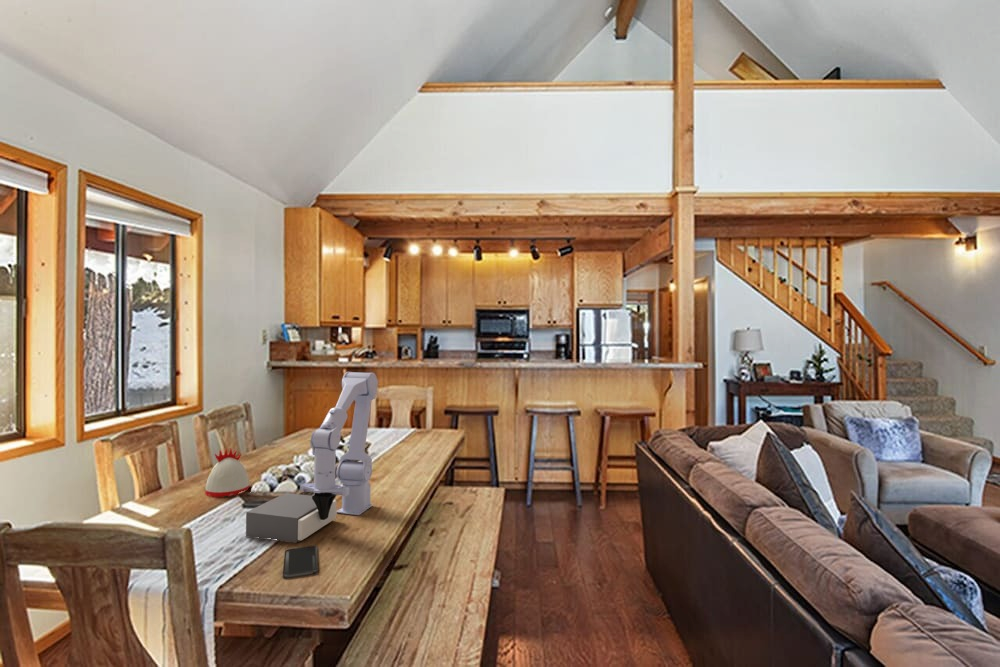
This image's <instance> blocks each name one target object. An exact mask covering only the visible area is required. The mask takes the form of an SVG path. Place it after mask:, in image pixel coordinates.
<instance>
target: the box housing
mask: <svg viewBox="0 0 1000 667" xmlns="http://www.w3.org/2000/svg"><path fill="white" fill-rule="evenodd" d="M312 496H313V495H309V494H298V493H288V492H285V493H283V494H281V495H279V496H277V497H275V498H272V499H271V500H268V501H267V502H264V503H262V504H260V505H258V506H256V507H254V508H252V509H250V510H248V511H246V512H245V514H246V516H245V537H246V536H250V537H249V538H254V537H259V538H258V539H261V538H271V539H277V540H280V541H279V542H284V541H285V543H291V542H293V543H292V544H298V543H299V542H301V540H298V520H299V519H301V518H302V517H304V516H306V515H308V514H309V513H311V512H313V511H314V510H316V509H317V506H316V504H315V502H314V501H313V499H312ZM297 542H298V543H297Z"/></svg>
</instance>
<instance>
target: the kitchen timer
mask: <svg viewBox="0 0 1000 667" xmlns="http://www.w3.org/2000/svg"><path fill="white" fill-rule="evenodd" d="M236 455H237V450H235V451H234V452H233V451H232V447H231V448H230V449H229V453H228V450H227V448H225V450H224V454H223V453H222V450H221V449H219V454H218V455H217V453H214V456H215V459H216V460H217V462H216V464H215V465H213V468H212V469H211V470H210V471H209V472H208V477H207V481H206V483H205V488H204V489H205V490H204V491H205V492H204V494H205V496H207V497H210V496H212V497H211V498H224V497H223V496H228V497H232V496H231V495H234V496H236V495H235V494H238V493H239V492H241V491H244V490H247V489H248V488H249V487H250V488H251V486H250V485H251V484H250V483H251V482H250V477H249V475H248V472H247V468H246V467H245V465H244V464H243V463H242V462H241V461H240V460H239V459H240V458H241V455H242V454H241V453H239V455H238V456H236ZM238 495H239V494H238Z"/></svg>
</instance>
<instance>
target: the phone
mask: <svg viewBox="0 0 1000 667" xmlns="http://www.w3.org/2000/svg"><path fill="white" fill-rule="evenodd" d="M318 562H319V561H318V547H317V545H311V546H303V547H294V548H288V549H285V550H284V557H283V567H282V579H285V580H288V579H294V578H300V577H301V578H302V577H308V576H314V575H316V574H318V573H319V563H318Z"/></svg>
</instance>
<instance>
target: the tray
mask: <svg viewBox="0 0 1000 667" xmlns="http://www.w3.org/2000/svg"><path fill="white" fill-rule="evenodd" d="M336 511H337V499H334V501H333V503H332V505H331V508H330V511H329V515H328V518H327V519H325V520H320V516H319V512H318V509H316V510H314V511H313V512H311V513H309V514H308V515H306V516H304V517H302V518H301V519H299V520H298V540H301V541H303V540H304V539H306V538H308V537H309V536H311V535H312V534H314V533H315V532H317V531H318V530H320V529H322V528H323V527H325V526H326V525H328V524H329V523H331V522H332V521H333V520H335V519H337V513H336ZM301 541H300V542H301Z"/></svg>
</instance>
